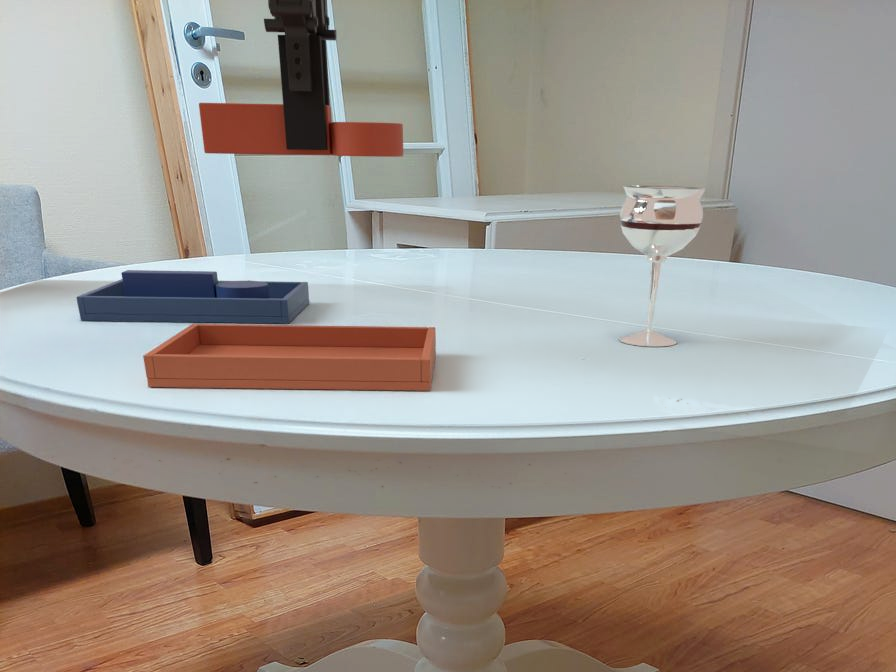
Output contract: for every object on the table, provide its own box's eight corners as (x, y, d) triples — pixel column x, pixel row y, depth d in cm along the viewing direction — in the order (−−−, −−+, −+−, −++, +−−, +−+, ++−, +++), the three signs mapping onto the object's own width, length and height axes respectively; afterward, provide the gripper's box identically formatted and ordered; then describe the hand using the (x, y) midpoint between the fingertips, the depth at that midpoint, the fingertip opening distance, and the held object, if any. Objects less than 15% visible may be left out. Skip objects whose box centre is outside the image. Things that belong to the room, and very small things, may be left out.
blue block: (120, 308, 85) (115, 274, 83) (137, 300, 89) (132, 267, 88) (264, 310, 85) (261, 276, 83) (274, 302, 89) (271, 270, 88)
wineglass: (695, 338, 79) (715, 187, 73) (675, 351, 74) (695, 190, 68) (623, 331, 82) (636, 184, 76) (598, 343, 76) (610, 187, 70)
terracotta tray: (148, 387, 60) (142, 355, 59) (195, 351, 71) (192, 323, 70) (430, 391, 61) (429, 359, 60) (435, 354, 71) (435, 327, 70)
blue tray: (80, 320, 82) (75, 296, 81) (125, 300, 92) (121, 279, 91) (289, 323, 82) (287, 299, 81) (309, 303, 93) (307, 281, 92)
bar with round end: (198, 153, 60) (191, 101, 58) (216, 153, 64) (210, 104, 63) (401, 156, 60) (399, 105, 59) (405, 156, 64) (404, 108, 63)
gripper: (326, -390, 44) (352, 151, 56) (357, -268, 57) (373, 150, 68) (174, -395, 44) (232, 149, 55) (240, -272, 57) (275, 148, 68)
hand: (310, 149), depth 62 cm, fingers closed on bar with round end, 2 cm apart
